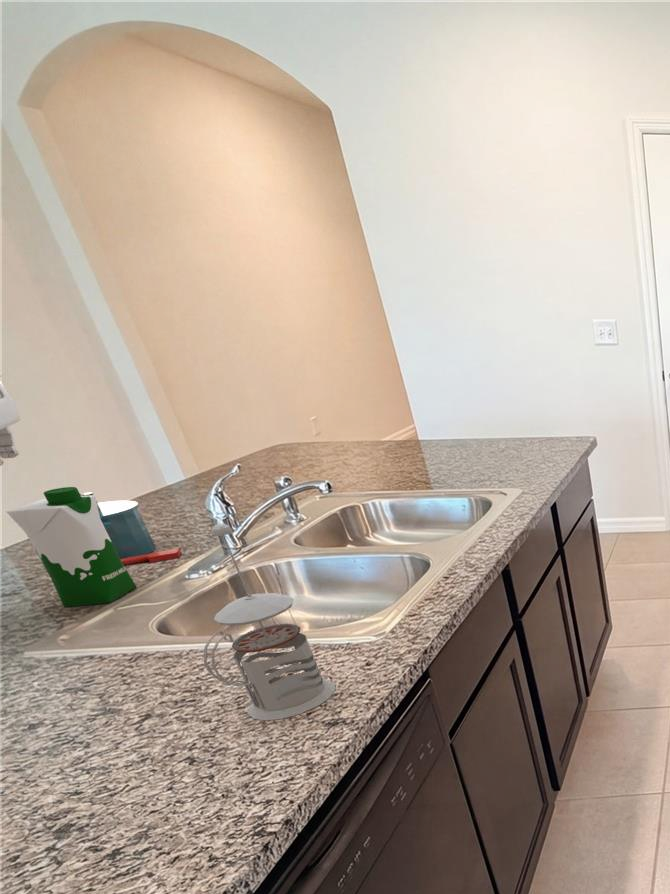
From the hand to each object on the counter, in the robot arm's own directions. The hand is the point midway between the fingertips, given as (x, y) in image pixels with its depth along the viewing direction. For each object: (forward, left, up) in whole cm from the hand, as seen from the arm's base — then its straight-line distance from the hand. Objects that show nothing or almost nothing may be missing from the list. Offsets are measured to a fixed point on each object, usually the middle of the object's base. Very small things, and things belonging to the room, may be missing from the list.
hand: (3, 461), depth 100 cm
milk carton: (0, +10, -27) cm, 29 cm away
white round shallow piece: (-2, +37, -18) cm, 41 cm away
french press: (+28, -52, -27) cm, 65 cm away
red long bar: (+2, +28, -27) cm, 39 cm away
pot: (-2, +37, -27) cm, 46 cm away
